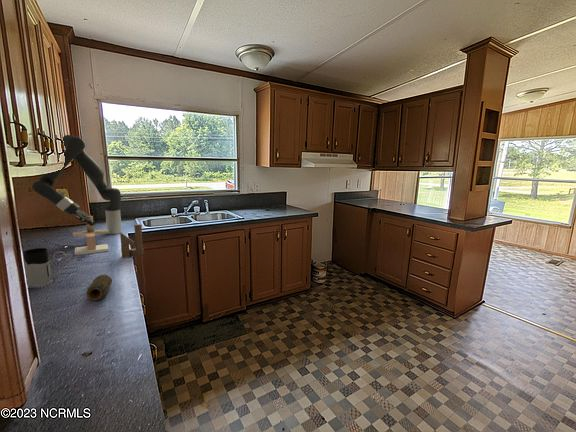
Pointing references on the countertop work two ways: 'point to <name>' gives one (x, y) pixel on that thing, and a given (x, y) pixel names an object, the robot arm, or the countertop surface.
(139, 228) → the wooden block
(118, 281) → the countertop surface
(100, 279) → the olive brown hollow cylinder
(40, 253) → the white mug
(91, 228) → the bar
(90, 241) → the stand
